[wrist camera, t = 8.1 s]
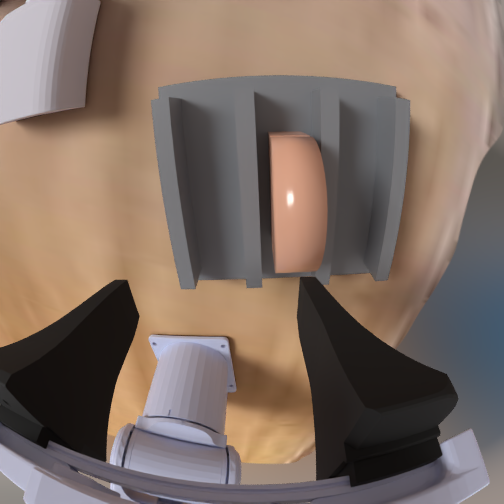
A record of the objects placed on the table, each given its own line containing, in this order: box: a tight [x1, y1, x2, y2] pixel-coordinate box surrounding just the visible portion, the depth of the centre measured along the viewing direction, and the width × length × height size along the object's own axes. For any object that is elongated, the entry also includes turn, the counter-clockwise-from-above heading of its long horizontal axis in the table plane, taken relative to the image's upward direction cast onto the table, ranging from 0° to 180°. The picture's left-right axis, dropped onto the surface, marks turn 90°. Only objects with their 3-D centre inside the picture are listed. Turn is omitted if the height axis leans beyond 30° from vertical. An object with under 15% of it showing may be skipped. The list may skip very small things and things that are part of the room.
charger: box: [0, 0, 101, 125], centre depth 9 cm, size 5×9×15 cm
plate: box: [268, 131, 328, 273], centre depth 14 cm, size 7×2×7 cm, turn 3°
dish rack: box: [151, 75, 410, 289], centre depth 16 cm, size 14×15×4 cm
